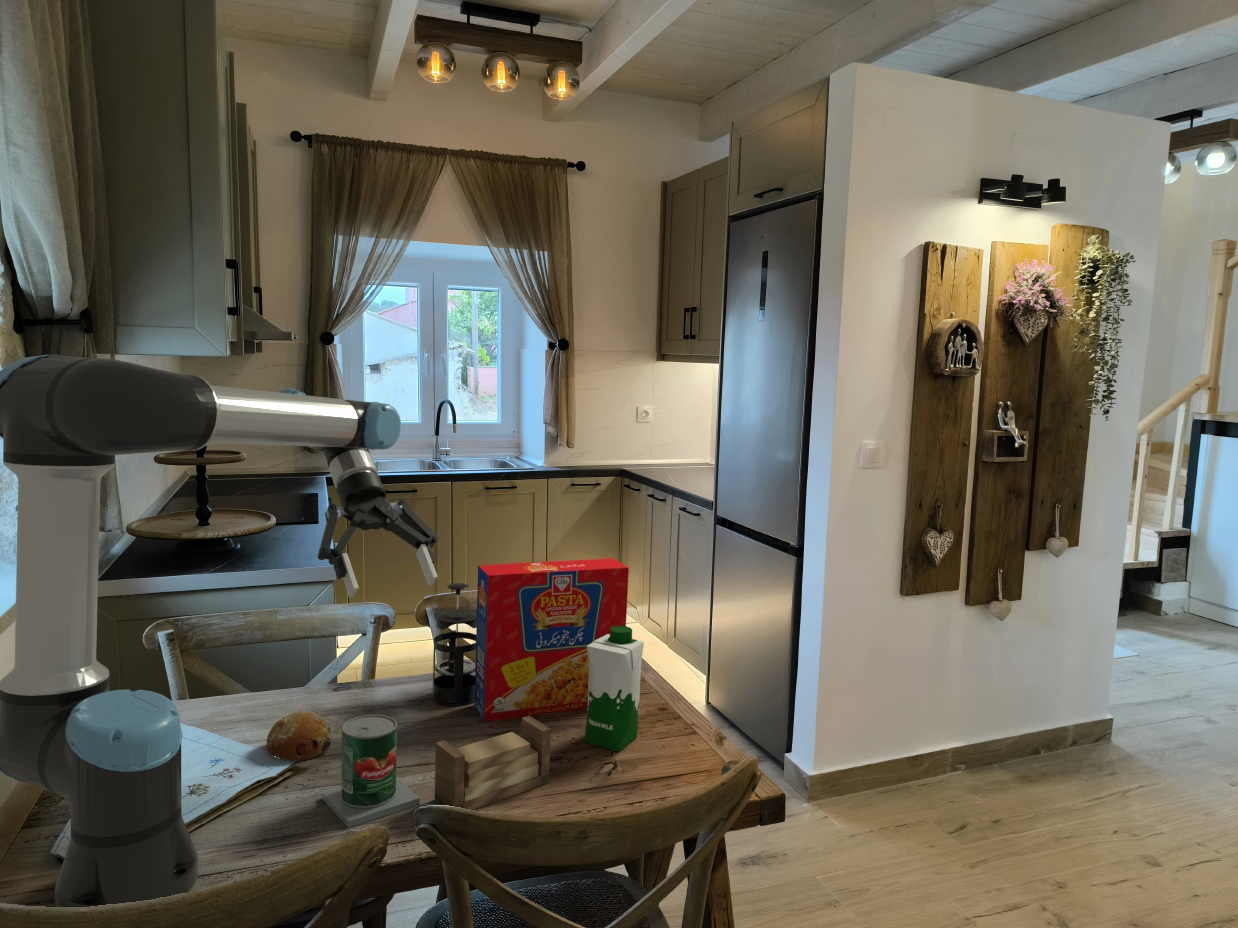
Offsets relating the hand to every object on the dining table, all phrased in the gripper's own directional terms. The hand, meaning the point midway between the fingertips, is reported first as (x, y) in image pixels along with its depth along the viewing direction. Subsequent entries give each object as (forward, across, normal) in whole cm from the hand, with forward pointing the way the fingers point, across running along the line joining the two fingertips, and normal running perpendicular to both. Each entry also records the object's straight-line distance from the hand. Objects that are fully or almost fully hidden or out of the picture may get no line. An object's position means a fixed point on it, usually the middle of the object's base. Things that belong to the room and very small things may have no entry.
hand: (394, 586), depth 133 cm
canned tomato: (+27, +8, -14) cm, 31 cm away
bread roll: (+12, +10, -31) cm, 34 cm away
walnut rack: (+34, -8, -8) cm, 36 cm away
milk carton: (+31, -35, -11) cm, 48 cm away
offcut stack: (+32, -9, -7) cm, 34 cm away
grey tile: (+28, +8, -14) cm, 32 cm away
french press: (+8, -22, -34) cm, 41 cm away
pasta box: (+18, -35, -24) cm, 46 cm away
